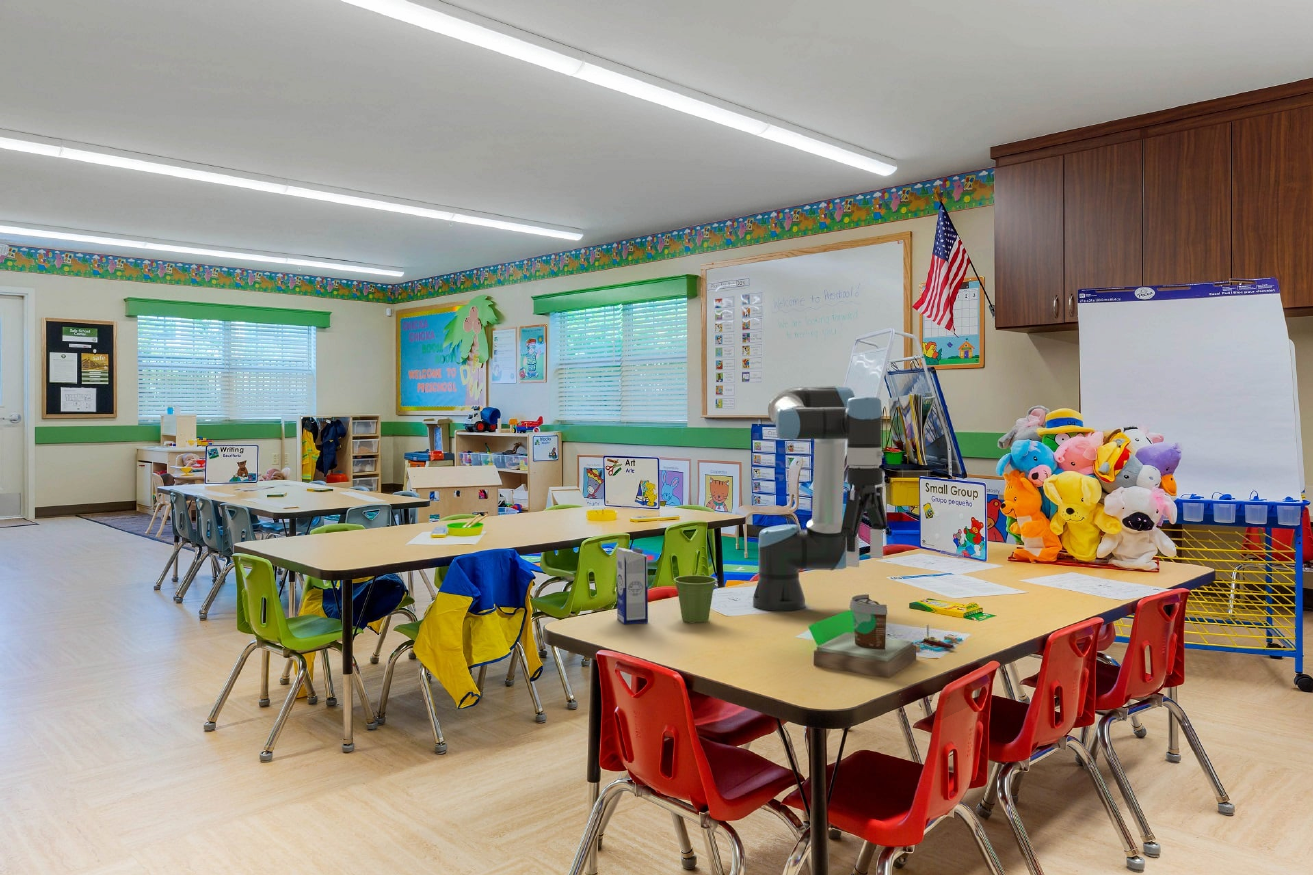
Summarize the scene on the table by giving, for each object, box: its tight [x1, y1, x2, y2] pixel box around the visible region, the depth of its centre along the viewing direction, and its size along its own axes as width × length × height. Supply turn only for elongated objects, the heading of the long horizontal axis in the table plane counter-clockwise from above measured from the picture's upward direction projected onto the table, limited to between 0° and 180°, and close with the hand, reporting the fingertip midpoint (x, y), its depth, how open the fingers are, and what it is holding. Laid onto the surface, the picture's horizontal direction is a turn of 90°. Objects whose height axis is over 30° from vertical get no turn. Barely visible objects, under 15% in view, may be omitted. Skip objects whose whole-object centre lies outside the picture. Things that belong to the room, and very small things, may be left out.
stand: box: [813, 632, 917, 679], centre depth 191 cm, size 17×17×4 cm
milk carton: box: [616, 546, 649, 625], centre depth 234 cm, size 7×7×20 cm
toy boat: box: [912, 624, 963, 653], centre depth 204 cm, size 20×5×9 cm
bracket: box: [807, 609, 854, 647], centre depth 209 cm, size 20×10×7 cm, turn 141°
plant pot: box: [673, 574, 718, 624], centre depth 233 cm, size 12×12×11 cm
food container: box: [848, 594, 888, 650], centre depth 191 cm, size 12×6×10 cm, turn 5°
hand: (864, 562), depth 191 cm, fingers open, 13 cm apart
